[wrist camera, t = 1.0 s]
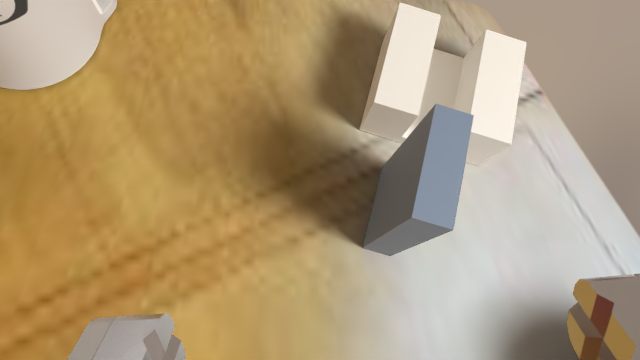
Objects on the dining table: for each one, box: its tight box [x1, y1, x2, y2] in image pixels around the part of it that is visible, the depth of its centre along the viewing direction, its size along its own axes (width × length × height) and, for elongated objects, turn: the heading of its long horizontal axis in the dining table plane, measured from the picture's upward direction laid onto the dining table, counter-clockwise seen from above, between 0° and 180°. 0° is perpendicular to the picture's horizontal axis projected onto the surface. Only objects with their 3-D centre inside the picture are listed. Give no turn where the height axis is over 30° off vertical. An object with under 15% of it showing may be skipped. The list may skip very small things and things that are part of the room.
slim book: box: [363, 104, 474, 256], centre depth 39 cm, size 3×9×16 cm, turn 164°
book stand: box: [359, 3, 526, 166], centre depth 48 cm, size 14×12×7 cm
